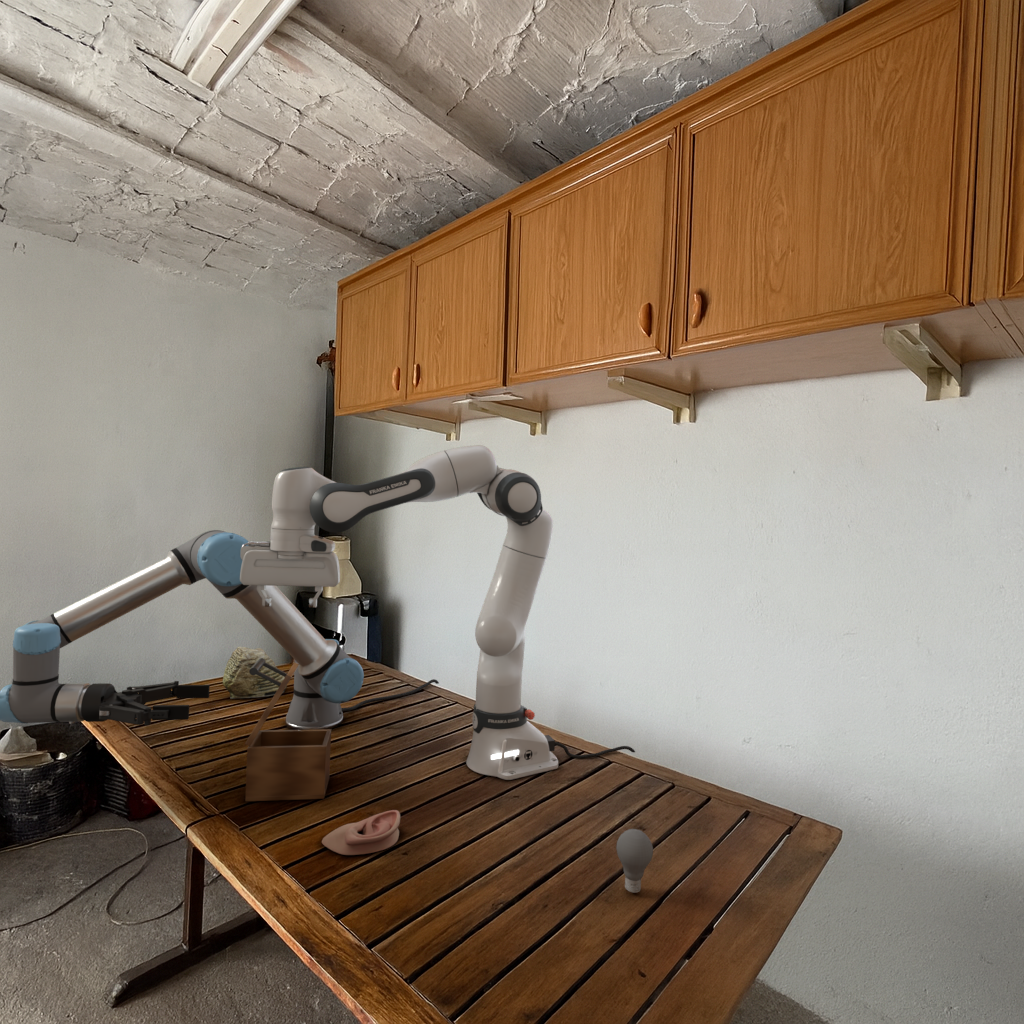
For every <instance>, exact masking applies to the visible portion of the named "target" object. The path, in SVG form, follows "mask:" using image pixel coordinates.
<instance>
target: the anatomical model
mask: <svg viewBox="0 0 1024 1024" xmlns="http://www.w3.org/2000/svg"><path fill="white" fill-rule="evenodd" d="M400 823H401V813H400V811H399V810H397V809H392V810H391V809H390V810H387V811H383V812H380V813H377V814H373V815H371V816H369V817H367V818H365V819H362V820H360V821H356V822H349V823H346V824H344V825H341V826H339V827H337V828H335V829H334V830H332V831H331V832H329V833H328V834H326V835H325V836H324V837H323V838H322V840H321V844H322V845H323V846H324V847H325V848H327V849H328V850H330V851H332V852H334V853H337V854H339V855H342V856H356V855H357V856H358V855H366V854H371V853H378V852H382V851H383V850H386V849H388V848H390V847H392V846H394V845H395V844H396V843H397V842H398V840H399V836H400V830H399V827H400Z"/></svg>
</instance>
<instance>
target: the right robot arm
mask: <svg viewBox="0 0 1024 1024" xmlns="http://www.w3.org/2000/svg"><path fill="white" fill-rule="evenodd" d="M473 493H474V494H475V493H476V494H477V495H478V497H479V499H480V501H481V502H482V504H483V505H484V506H485V507H486V508H487V509H488V510H490V511H492V512H493V513H494V514H496V515H499V516H502V517H505V519H506V521H507V522H506V523H507V530H506V535H505V538H504V539H503V540H504V541H503V543H502V547H501V550H500V552H499V556H498V560H497V563H496V567H495V570H494V573H493V576H492V579H491V581H490V584H489V587H488V590H487V592H486V595H485V598H484V600H483V604H482V606H481V609H480V613H479V615H478V618H477V621H476V625H475V628H474V637H475V641H476V645H477V646H478V648H479V655H478V662H477V669H476V686H475V703H474V705H473V710H472V719H471V720H472V721H471V722H472V723H471V724H472V729H473V731H472V737H471V743H470V748H469V751H468V755H467V758H466V760H465V763H466V764H465V765H466V766H467V767H468V768H469V769H470V770H471V771H473V772H474V773H478V774H480V775H485V776H491V777H495V778H496V777H497V778H499V779H502V780H506V781H511V780H515V779H520V778H524V777H528V776H532V775H537V774H540V773H545V772H549V771H553V770H557V769H558V768H559V759H558V758H557V756H556V755H555V754H554V753H553V752H555V748H556V746H557V747H560V748H562V749H563V750H564V753H565V755H567V757H570V758H572V759H588V758H595V757H600V756H603V755H605V754H609V753H614V752H617V751H623V750H628V751H629V752H631V753H636V750H635V749H634V748H633V747H631V746H628V745H620V746H617V747H614V748H608V749H605V750H601V751H599V752H595V753H587V754H574V753H571V752H570V751H569V749H568V747H567V746H566V745H565V744H563V743H561V742H558V741H556V740H555V739H554V738H553V737H551V735H549V734H544V733H543V732H542V731H541V730H539V728H537V727H536V726H534V724H532V723H531V722H530V720H531V721H532V720H534V718H535V716H536V715H535V712H534V711H532V710H531V709H528V708H527V707H525V706H524V705H522V685H523V669H524V659H525V658H524V657H525V646H526V645H525V644H526V631H527V630H526V629H527V622H528V619H529V615H530V612H531V609H532V606H533V603H534V601H535V597H536V594H537V591H538V588H539V584H540V581H541V577H542V574H543V571H544V568H545V565H546V561H547V558H548V554H549V552H550V547H551V543H552V537H553V531H554V529H553V528H554V520H553V517H552V515H551V514H550V513H549V512H548V511H546V509H544V508H543V503H542V502H543V501H542V492H541V489H540V486H539V484H538V483H537V481H536V480H535V479H534V478H533V477H532V476H531V475H529V474H527V473H525V472H521V471H520V470H516V469H512V468H511V469H510V468H509V469H507V468H502V467H499V465H498V463H497V460H496V457H495V455H494V453H493V452H492V451H491V449H490V448H488V447H487V446H485V445H481V444H476V445H475V444H474V445H465V446H464V445H463V446H459V447H452V448H447V449H444V450H440V451H437V452H434V453H431V454H429V455H427V456H424V457H422V458H420V459H418V460H416V461H414V462H413V463H412V464H411V465H410V466H409V467H407V468H406V469H404V470H403V471H401V472H399V473H396V474H393V475H390V476H387V477H383V478H380V479H376V480H372V481H369V482H365V483H360V484H349V483H344V482H336V481H334V480H332V479H330V478H328V477H326V476H324V475H322V474H321V473H319V472H318V471H316V470H315V469H314V468H313V467H311V466H296V467H288V468H284V469H282V470H280V471H279V472H278V473H277V474H276V475H275V478H274V481H273V486H272V495H271V511H272V517H273V518H272V522H271V525H270V540H269V541H268V540H267V541H265V540H264V541H263V540H261V541H256V540H248V541H249V542H248V543H245V544H244V545H243V546H242V547H241V554H240V556H241V559H242V566H241V572H240V581H241V583H242V584H243V585H258V587H257V591H258V592H259V594H260V596H261V598H263V603H262V606H263V607H270V606H271V597H267V595H266V593H265V591H264V590H265V589H266V585H270V586H277V587H314V592H315V595H314V597H310V598H309V599H308V603H309V604H308V608H317V607H318V598H319V597H320V596H321V594H322V592H323V590H324V587H326V588H327V587H328V588H335V587H337V586H338V585H339V584H340V581H341V569H340V567H341V566H340V561H339V556H338V554H337V553H335V552H334V551H335V549H336V542H334V541H333V540H331V539H328V538H325V537H323V536H319V535H316V534H315V527H316V525H317V527H319V528H320V529H322V530H324V531H325V532H329V533H343V532H346V531H348V530H350V529H351V528H353V527H354V526H355V525H357V524H358V523H359V522H360V521H361V520H362V519H364V518H365V517H366V516H369V515H371V514H373V513H376V512H380V511H384V510H386V509H387V510H388V509H390V508H393V507H396V506H399V505H404V504H408V503H435V502H436V503H437V502H441V501H447V500H451V499H455V498H459V497H461V496H464V495H467V494H473ZM246 545H248V546H246Z"/></svg>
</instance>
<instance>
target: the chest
mask: <svg viewBox="0 0 1024 1024" xmlns="http://www.w3.org/2000/svg"><path fill="white" fill-rule="evenodd" d="M331 743H332V729H315V730H292V729H269V730H268V729H263V730H261V729H260V731H259V732H258V734H257V736H256V737H255V739H254V741H253V742H252V744H251V746H248V745H247V746H248V747H247V748H246V749H247V750H246V774H245V776H246V777H245V799H244V801H245V802H265V801H267V802H268V801H269V802H271V801H295V800H297V801H298V800H321V799H322V800H324V799H325V798H326V797H325V796H326V792H327V788H328V784H329V781H330V775H331V774H330V772H331V771H330V770H331V748H332V744H331Z"/></svg>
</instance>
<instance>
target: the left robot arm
mask: <svg viewBox="0 0 1024 1024" xmlns="http://www.w3.org/2000/svg"><path fill="white" fill-rule="evenodd" d="M249 541H250V540H248V539H246V538H245V537H244V536H242V535H241V534H240V535H239V534H237V533H234V532H227V531H224V530H220V529H212V530H207V531H205V532H202V533H200V534H198V535H196V536H194V537H192V538H190V539H189V540H187V541H185V542H184V543H182V544H180V545H179V546H177V547H174V548H172V549H170V550H169V551H168V553H167V555H166V557H163V558H161V559H160V560H158V561H156V562H154V563H152V564H150V565H148V566H145V567H144V568H142V569H140V570H138V571H136V572H134V573H132V574H130V575H128V576H126V577H124V578H121V579H119V580H118V581H116V582H114V583H112V584H110V585H108V586H105V587H103V588H102V589H99V590H97V591H95V592H93V593H92V594H89V595H87V596H86V597H83V598H82V599H79V600H77V601H75V602H72V603H71V604H69V605H67V606H65V607H63V608H61V609H59V610H57V611H55V612H53V613H52V614H49V615H47V616H45V617H43V618H41V619H37V620H31V621H29V622H26V623H25V624H23V625H21V626H18V627H17V628H16V629H15V630H14V633H13V640H12V679H11V680H12V681H11V683H9V684H7V685H4V686H3V687H2V688H1V689H0V721H1V722H3V723H14V724H15V723H18V724H36V723H39V724H40V723H68V724H70V725H74V724H75V723H76V722H77V723H78V722H79V723H80V722H81V723H83V722H84V721H85V722H86V723H97V722H101V723H102V722H106V721H109V720H110V721H116V722H120V723H127V724H131V725H137V726H140V725H141V726H142V725H144V726H150V725H151V724H152V721H180V720H181V721H184V720H186V721H187V720H189V719H190V704H154V705H152V707H151V706H148V705H146V704H147V703H151V702H155V701H160V700H161V701H162V700H166V699H171V698H176V699H209V698H210V684H180V681H179V680H174V681H173V682H171V681H170V682H165V683H164V682H163V683H155V684H148V685H140V686H138V685H136V686H131V685H130V686H127V687H126V689H124V690H122V691H119V692H118V691H117V690H116V688H115V686H114V685H113V684H112V683H109V682H108V683H105V682H104V683H101V682H100V683H98V682H97V683H92V684H91V683H90V682H89V683H86V682H85V683H81V682H79V683H59V678H60V672H59V671H60V668H59V667H60V656H61V655H60V654H61V653H60V652H61V649H62V648H64V647H67V646H68V645H70V644H71V643H73V642H74V641H77V640H78V639H80V638H83V637H84V636H86V635H88V634H90V633H92V632H94V631H96V630H98V629H99V628H101V627H103V626H105V625H108V624H109V623H111V622H113V621H115V620H117V619H120V618H121V617H123V616H124V615H126V614H129V613H130V612H132V611H134V610H137V609H138V608H140V607H141V606H144V605H146V604H148V603H149V602H152V601H153V600H155V599H157V598H159V597H161V596H163V595H165V594H167V593H169V592H171V591H173V590H175V589H176V588H178V587H180V586H182V585H186V586H191V585H194V584H195V583H197V582H199V581H202V580H205V579H206V580H207V581H208V582H209V583H210V584H211V585H212V586H213V587H214V588H215V589H216V590H217V591H218V592H219V593H220V595H222V596H223V597H224V599H227V600H228V599H229V600H230V599H235V600H237V602H239V603H240V605H241V606H242V607H243V608H244V609H245V610H246V611H247V612H248V613H249V614H250V615H251V616H252V617H253V618H254V619H255V620H256V621H257V623H259V624H260V625H261V626H262V627H263V628H264V629H265V631H266V632H267V633H268V634H269V635H270V636H271V637H272V638H273V639H274V640H275V641H276V642H277V643H278V644H279V645H280V646H281V647H282V648H283V649H284V650H285V651H286V652H287V654H288V655H290V656H291V658H292V659H294V663H297V664H299V666H298V668H297V669H296V671H295V672H294V674H293V695H292V696H293V697H292V699H291V701H290V702H289V705H288V706H289V708H288V711H287V713H286V715H285V726H286V728H287V729H288V730H315V729H331V730H332V729H335V728H337V727H339V726H340V725H342V723H343V722H344V714H343V712H351V711H353V710H356V709H358V708H360V707H362V706H364V705H366V704H370V703H373V702H379V701H387V700H392V699H393V700H394V699H397V698H401V697H402V698H403V697H406V696H410V695H412V694H415V693H417V692H419V691H421V690H423V689H424V688H426V687H428V686H429V685H431V684H433V683H435V684H437V685H438V684H440V682H439V681H438V680H437V679H435V678H433V679H431V680H428V681H427V682H426V683H423V684H421V685H420V686H418V687H416V688H414V689H411V690H409V691H405V692H401V693H396V694H392V695H387V696H380V697H373V698H368V699H365V700H363V701H361V702H360V701H359V702H358V703H356V704H355V705H352V706H350V707H349V706H348V707H342V706H341V704H344V703H347V702H349V701H350V700H352V699H353V698H355V697H356V696H357V694H359V692H360V690H361V689H362V686H363V684H364V678H365V673H364V669H363V667H362V665H361V664H360V663H359V661H358V660H357V659H354V658H352V657H351V656H350V655H349V654H348V653H347V652H346V651H345V650H344V649H343V648H342V647H341V646H340V642H339V640H337V639H334V638H324V636H323V635H322V634H321V633H320V632H319V631H318V630H317V629H316V628H315V626H313V625H312V623H311V622H310V621H309V620H308V619H307V618H306V617H305V615H303V613H302V612H300V610H299V609H298V608H297V607H296V606H295V605H294V604H293V602H291V600H290V599H289V598H288V597H287V596H286V595H285V594H284V593H283V591H282V590H281V589H280V588H279V586H270V585H266V589H265V590H264V591H265V593H266V595H267V597H271V606H270V607H263V606H262V603H263V598H261V596H260V594H259V592H258V591H257V587H258V585H243V584H242V583H241V581H240V572H241V566H242V559H241V556H240V554H241V547H242V546H243V545H244V544H245V543H248V542H249ZM246 546H248V545H246Z"/></svg>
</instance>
